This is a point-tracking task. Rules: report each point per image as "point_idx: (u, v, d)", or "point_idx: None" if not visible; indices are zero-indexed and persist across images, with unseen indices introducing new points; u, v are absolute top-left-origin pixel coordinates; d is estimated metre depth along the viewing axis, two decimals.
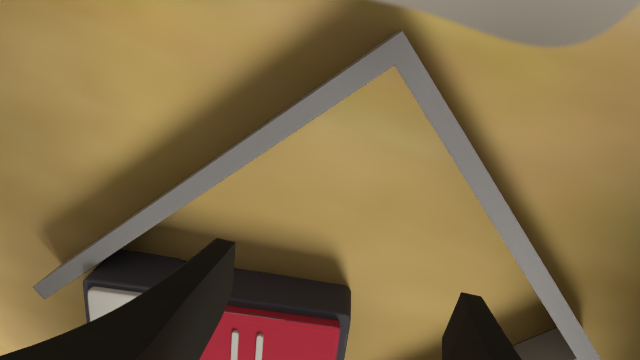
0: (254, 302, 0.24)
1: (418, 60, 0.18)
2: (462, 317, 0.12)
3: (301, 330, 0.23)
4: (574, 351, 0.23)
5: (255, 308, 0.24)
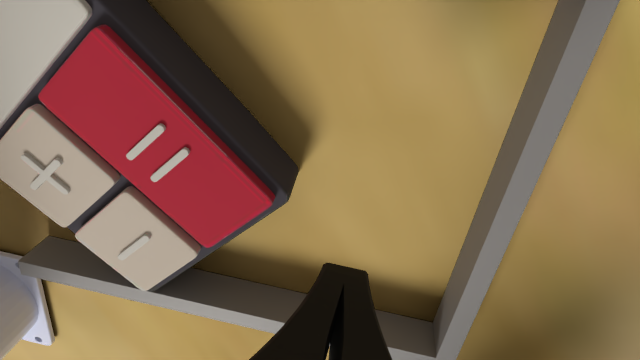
0: (206, 112, 0.18)
1: (610, 16, 0.14)
2: None
3: (234, 177, 0.19)
4: (440, 352, 0.23)
5: (202, 120, 0.18)
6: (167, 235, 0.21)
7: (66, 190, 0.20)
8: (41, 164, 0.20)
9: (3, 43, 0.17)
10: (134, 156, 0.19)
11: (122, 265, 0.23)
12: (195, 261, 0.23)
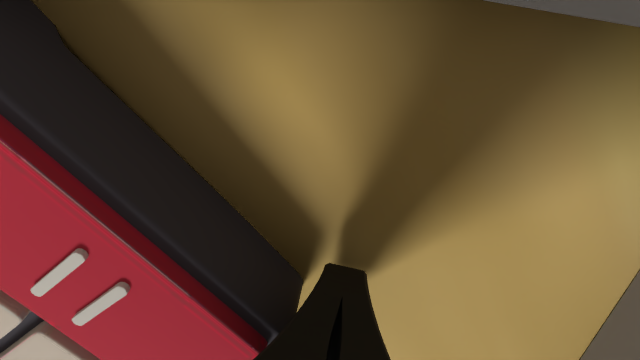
0: (155, 228, 0.11)
1: None
2: None
3: (202, 324, 0.12)
4: None
5: (149, 238, 0.11)
6: None
7: None
8: None
9: None
10: (43, 292, 0.12)
11: None
12: None
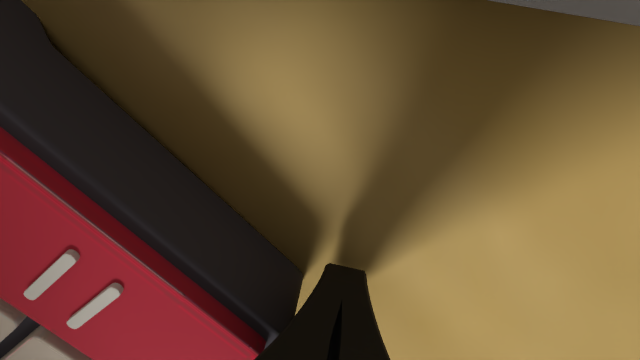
0: (146, 228, 0.11)
1: None
2: None
3: (197, 324, 0.12)
4: None
5: (140, 237, 0.11)
6: None
7: None
8: None
9: None
10: (36, 295, 0.12)
11: None
12: None
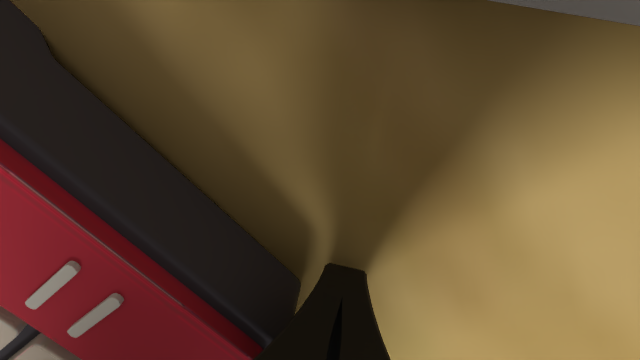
0: (146, 240, 0.11)
1: None
2: None
3: (196, 333, 0.12)
4: None
5: (140, 248, 0.11)
6: None
7: None
8: None
9: None
10: (38, 304, 0.12)
11: None
12: None
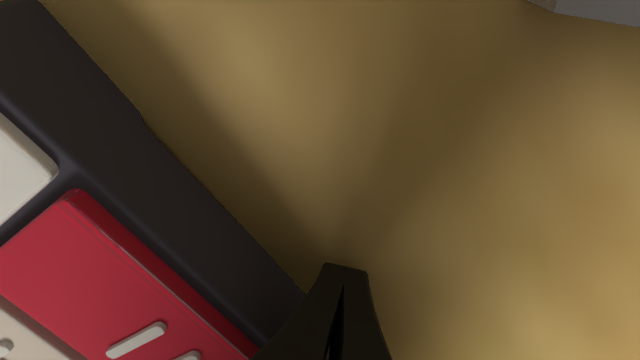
0: (229, 305, 0.12)
1: None
2: None
3: None
4: None
5: (220, 312, 0.12)
6: None
7: None
8: None
9: None
10: (118, 355, 0.13)
11: None
12: None
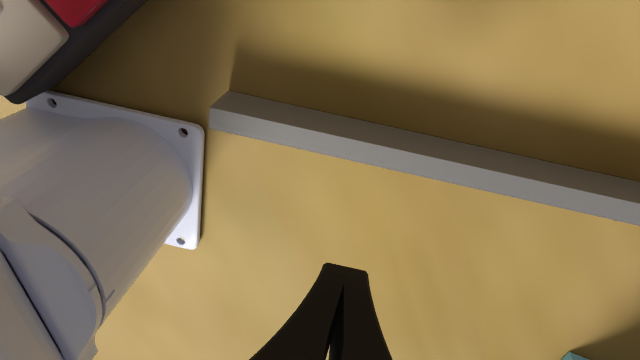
0: None
1: None
2: None
3: None
4: None
5: None
6: (22, 6, 0.17)
7: None
8: None
9: None
10: None
11: None
12: (64, 56, 0.19)
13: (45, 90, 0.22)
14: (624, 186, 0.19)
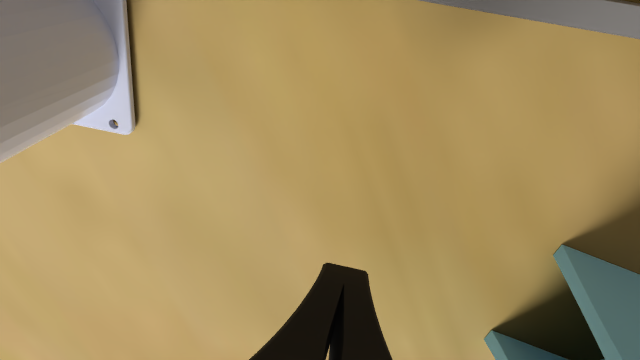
0: None
1: None
2: None
3: None
4: None
5: None
6: None
7: None
8: None
9: None
10: None
11: None
12: None
13: None
14: (615, 0, 0.16)
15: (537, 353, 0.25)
